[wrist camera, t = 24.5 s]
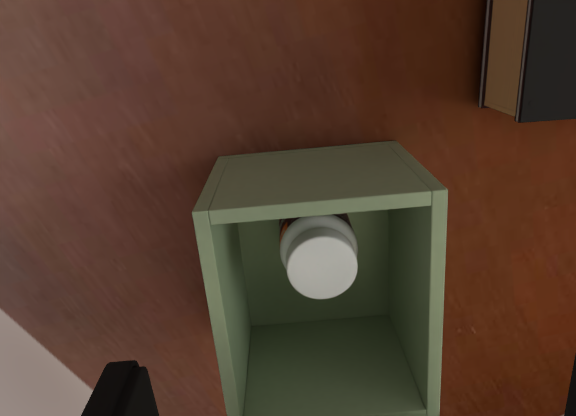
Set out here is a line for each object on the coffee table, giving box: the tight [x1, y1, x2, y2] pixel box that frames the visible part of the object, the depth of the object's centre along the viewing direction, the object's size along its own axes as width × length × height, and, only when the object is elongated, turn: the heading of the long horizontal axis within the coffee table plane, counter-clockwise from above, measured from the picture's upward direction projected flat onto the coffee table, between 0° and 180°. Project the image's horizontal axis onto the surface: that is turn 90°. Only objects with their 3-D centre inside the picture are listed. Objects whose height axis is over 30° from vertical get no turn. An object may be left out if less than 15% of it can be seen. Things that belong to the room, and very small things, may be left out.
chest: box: [192, 141, 448, 416], centre depth 30 cm, size 15×13×11 cm
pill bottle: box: [279, 213, 358, 299], centre depth 30 cm, size 5×5×8 cm
